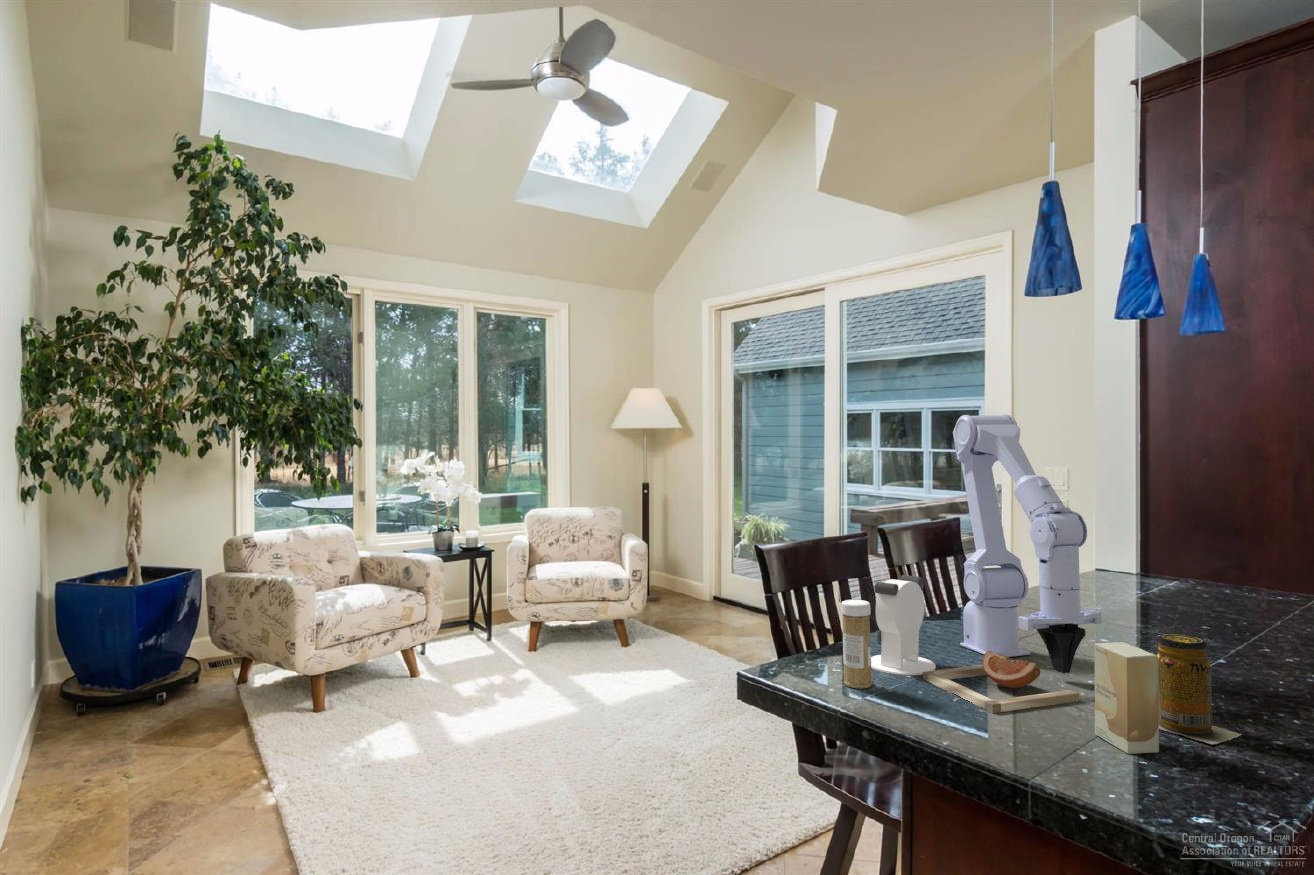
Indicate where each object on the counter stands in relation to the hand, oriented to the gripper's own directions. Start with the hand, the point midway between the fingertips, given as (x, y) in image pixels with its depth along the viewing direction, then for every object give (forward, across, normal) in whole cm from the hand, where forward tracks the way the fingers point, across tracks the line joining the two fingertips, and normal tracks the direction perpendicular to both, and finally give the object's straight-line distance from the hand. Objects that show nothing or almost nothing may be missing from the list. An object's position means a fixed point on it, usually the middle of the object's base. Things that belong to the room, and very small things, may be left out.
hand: (1061, 671), depth 116 cm
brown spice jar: (+2, -32, +9) cm, 33 cm away
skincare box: (+2, -12, -22) cm, 25 cm away
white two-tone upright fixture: (+2, -19, +16) cm, 25 cm away
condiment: (+2, 0, -21) cm, 21 cm away
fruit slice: (+2, -10, 0) cm, 10 cm away
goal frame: (+2, -12, 0) cm, 12 cm away
